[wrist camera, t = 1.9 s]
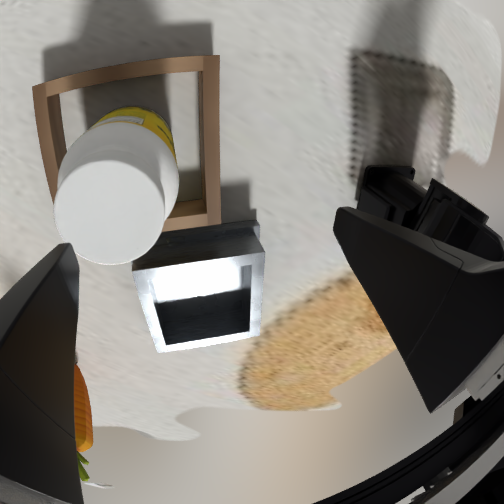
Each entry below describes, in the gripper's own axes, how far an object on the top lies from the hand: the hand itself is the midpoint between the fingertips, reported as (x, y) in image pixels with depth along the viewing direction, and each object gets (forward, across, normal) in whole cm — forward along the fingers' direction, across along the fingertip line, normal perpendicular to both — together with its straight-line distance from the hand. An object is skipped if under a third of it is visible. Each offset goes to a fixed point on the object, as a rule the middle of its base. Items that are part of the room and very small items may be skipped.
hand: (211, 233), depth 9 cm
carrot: (+14, +16, +24) cm, 32 cm away
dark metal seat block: (+13, -1, +13) cm, 19 cm away
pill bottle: (+14, +3, 0) cm, 14 cm away
